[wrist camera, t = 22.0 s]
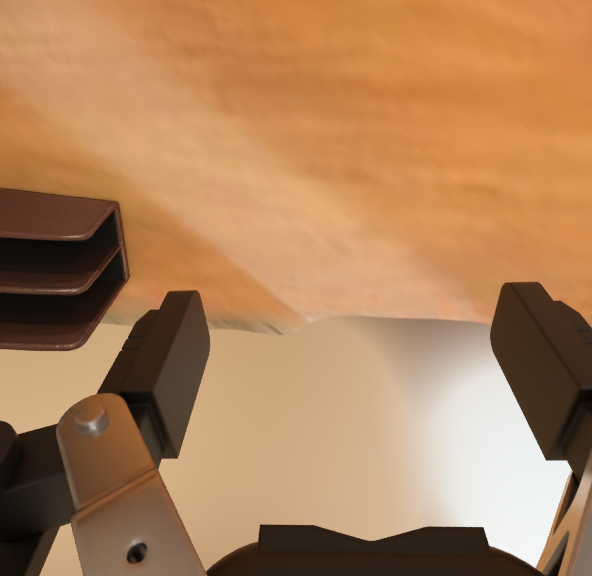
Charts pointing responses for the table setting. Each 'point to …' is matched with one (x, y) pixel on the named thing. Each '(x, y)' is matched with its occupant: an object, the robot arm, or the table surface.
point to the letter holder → (57, 268)
